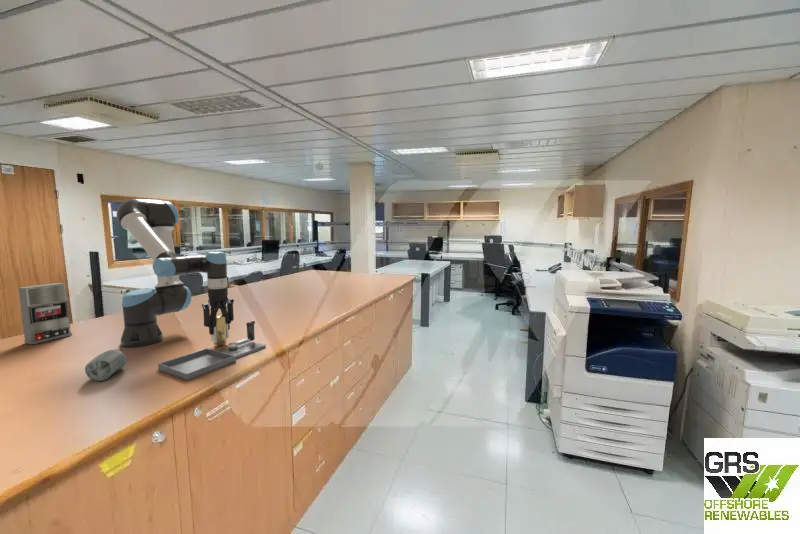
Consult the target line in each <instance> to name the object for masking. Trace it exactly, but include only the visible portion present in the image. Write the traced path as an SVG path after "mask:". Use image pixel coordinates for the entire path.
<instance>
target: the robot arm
mask: <svg viewBox="0 0 800 534" xmlns="http://www.w3.org/2000/svg"><path fill="white" fill-rule="evenodd" d="M179 218H180V217H179V211H178V209H177V207H176V206H175V205H174V204H173V203H172V202H170V201H167V200H161V199H160V200H159V199H143V198H141V199H140V198H132V199H127V200H125V201H124V202H122V203H120V205H118V208H117V209H116V220H117V223H118V224H119V225H120V226H121V228H122V229H124V230H126V231H128V232H129V233H130V235H132V236H133V238H134V239H135V240H136V241H137V242H138V243H139V245H140V246H141V247H142V249H143V250H144V251H145V252H146V254H147V255H149V257H150V258H151V259H152V261H153V262H152V270H153V273H154V274H155V275H156V278H157V284H156V285H154V288H151V287H150V288H149V287H147V288H139V289H135V290H131V291H128V292H126V293H125V294H124V295H122V298H121V299H122V301H121V302H122V304H121V306H122V313H123V324H124V325H123V330H122V334H121V337H120V346H121V347H124V348H136V347H137V348H138V347H144V346H149V345H152V344H156V343H159V342H161V341H163V337H164V335H163V332H162V330H161V328H160V326H159V324H158V319H157V318H158V317H157V316H163V315H166V314H167V315H168V314H171V313H179V312H181V311H184V310H186V309H188V307H189V306H190V305H191V302H192V292H191V290H190V288H189V287H188V286H185V283H184V282H182V281H181V279H180V276H181V275H190V274H191V275H192V274H199V273H203V274H206V279H207V282H206V283H207V288H208V289H207V296H208V300H207V302H205V303H202V304H201V307H202V309H203V326H204V327H206V328H208V332H209V335H210V338H211V339H210V341H211V342H213V343H214V342H217V334H216V327H214V325H215V320H216V316H217V313H218V311H219V310H220V313H221V315H224V316H226V339H229V338H230V336H229V330H230V329H231V328H230V327H231V326H230V324H231V323H232V322H233V321H234V319H235V318H234V301H235V300H234V298H233V299H232V298H228V296H229V295H228V294H229V292H228V291H229V288H228V265H227V263H228V261H227V254H226V252H224V251H208V252H207V253H206V254H205V255H202V254H193V255H188V256H177V255H176V251H175V244H174V239H173V230H174V229H175V225H177V224H178V223H179Z"/></svg>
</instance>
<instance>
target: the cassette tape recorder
mask: <svg viewBox="0 0 800 534" xmlns="http://www.w3.org/2000/svg"><path fill="white" fill-rule="evenodd" d="M66 285H67V284H66V283H64V282H54V283H47V284H37V285H29V286H20V287H18V296H19V303H20V311H21V320H22V327H23V336H24V340H23V341H24V344H29V345H32V344H35V345H37V344H39V343H40V344H41V343H44V342H49V341H54V340H57V339H63V338H66V337H71V336H73V333H72V332H71V325H70V324H71V323H70V314H69V306H68V293H67V288H66V287H67V286H66ZM70 335H71V336H70ZM53 339H54V340H53Z"/></svg>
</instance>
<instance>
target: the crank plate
mask: <svg viewBox="0 0 800 534" xmlns="http://www.w3.org/2000/svg"><path fill="white" fill-rule="evenodd" d="M266 346H267V345H266V344H264V343H259V342H255V341H250V342H247V343H244V344H241V345H238V346H237V349H233V350H230V349H229V345H228V346H226V347H223V348H219V349H218V350H217V351H220V352H224V353H227V354H231V355H234V356H236V360H237V359H238V358H242V357H244V356H248V355H250V354H252V353H255V352H257V351H260V350H262V349H265V348H267V347H266Z"/></svg>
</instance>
